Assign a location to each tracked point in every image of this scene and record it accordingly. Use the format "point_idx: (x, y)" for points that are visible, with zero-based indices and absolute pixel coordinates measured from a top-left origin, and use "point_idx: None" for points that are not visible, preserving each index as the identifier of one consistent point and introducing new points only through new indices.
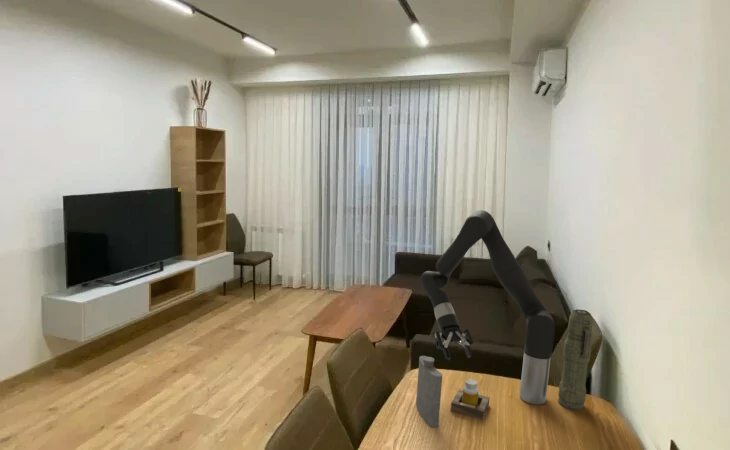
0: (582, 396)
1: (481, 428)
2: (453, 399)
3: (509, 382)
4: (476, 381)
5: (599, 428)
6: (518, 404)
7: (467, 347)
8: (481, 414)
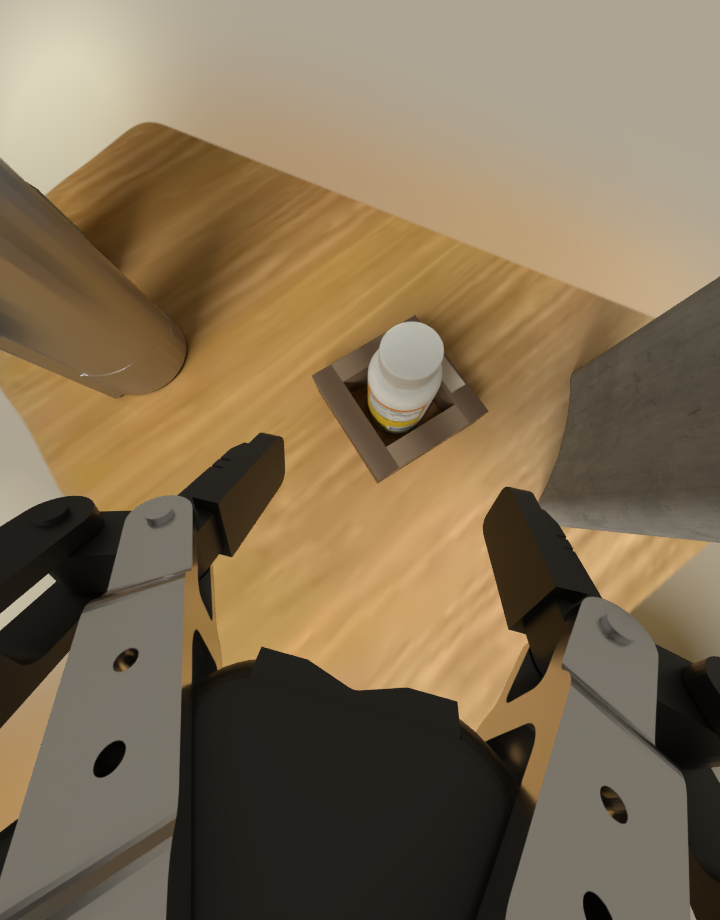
0: None
1: (448, 307)
2: (460, 427)
3: (98, 476)
4: (382, 340)
5: (146, 179)
6: (222, 350)
7: (226, 489)
8: None
